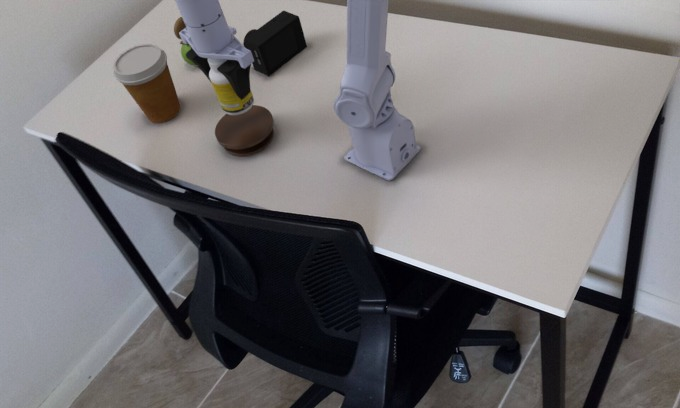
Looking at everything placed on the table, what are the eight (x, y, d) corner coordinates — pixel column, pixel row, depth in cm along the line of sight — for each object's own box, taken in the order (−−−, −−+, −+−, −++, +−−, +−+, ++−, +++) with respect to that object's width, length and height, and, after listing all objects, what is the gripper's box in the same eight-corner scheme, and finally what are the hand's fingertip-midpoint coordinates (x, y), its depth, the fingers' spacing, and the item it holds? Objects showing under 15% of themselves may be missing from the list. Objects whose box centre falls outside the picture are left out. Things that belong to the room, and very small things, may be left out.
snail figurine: (221, 53, 133) (200, 0, 124) (201, 73, 130) (178, 20, 121) (201, 49, 135) (179, -4, 127) (181, 68, 132) (157, 16, 124)
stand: (289, 129, 114) (284, 116, 112) (248, 167, 110) (242, 154, 108) (249, 111, 119) (244, 98, 117) (208, 146, 115) (202, 133, 113)
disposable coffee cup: (199, 105, 123) (174, 51, 115) (159, 136, 120) (130, 83, 111) (168, 88, 129) (143, 36, 120) (129, 118, 125) (100, 66, 116)
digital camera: (288, 38, 132) (279, 7, 127) (307, 46, 129) (299, 15, 124) (250, 68, 128) (238, 37, 123) (268, 77, 125) (258, 46, 120)
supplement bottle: (249, 116, 107) (230, 67, 100) (218, 116, 109) (197, 68, 102) (258, 93, 111) (240, 44, 104) (228, 94, 112) (208, 46, 105)
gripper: (256, 12, 95) (281, 87, 105) (191, -10, 103) (220, 62, 113) (220, 40, 92) (249, 115, 102) (157, 15, 100) (190, 86, 110)
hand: (232, 89), depth 107 cm, fingers closed on supplement bottle, 5 cm apart
